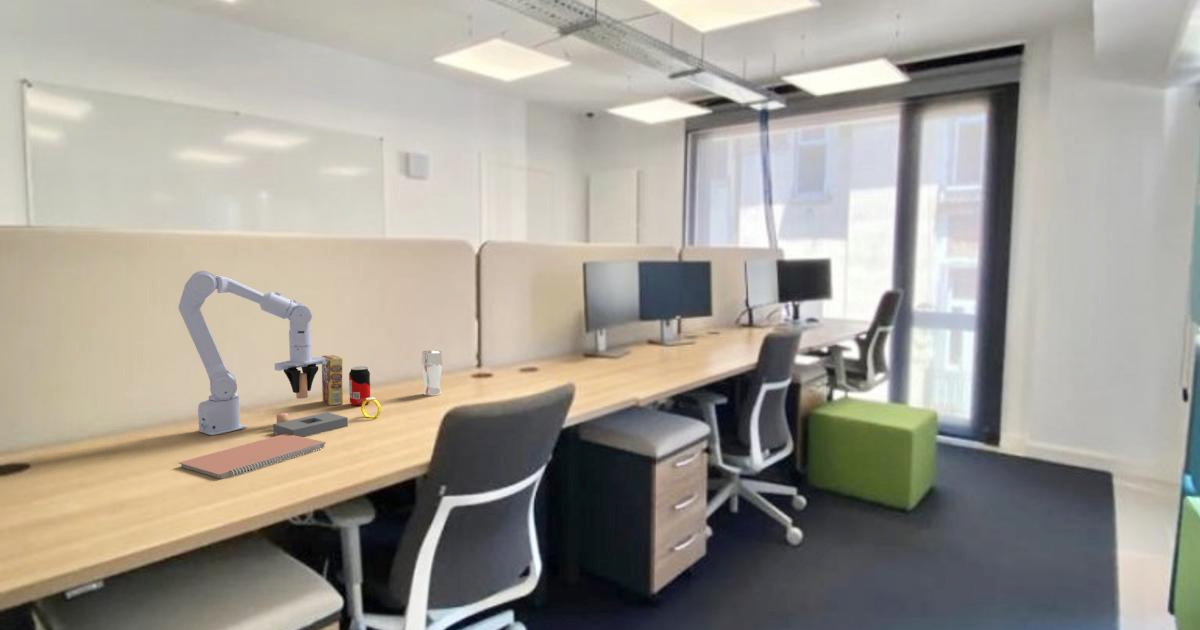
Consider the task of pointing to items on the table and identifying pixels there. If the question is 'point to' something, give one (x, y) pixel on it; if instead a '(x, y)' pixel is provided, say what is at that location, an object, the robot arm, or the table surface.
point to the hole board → (311, 424)
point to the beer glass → (432, 372)
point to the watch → (370, 401)
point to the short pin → (282, 417)
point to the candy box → (332, 380)
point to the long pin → (302, 386)
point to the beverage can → (359, 385)
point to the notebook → (252, 455)
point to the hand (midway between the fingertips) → (301, 391)
